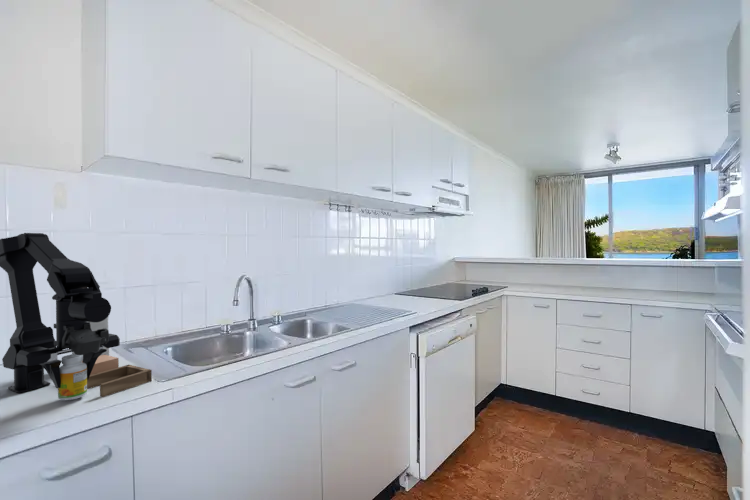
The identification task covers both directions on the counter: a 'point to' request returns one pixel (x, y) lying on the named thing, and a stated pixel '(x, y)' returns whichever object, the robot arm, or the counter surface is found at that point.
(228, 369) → the counter surface
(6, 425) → the counter surface
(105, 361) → the terracotta pedestal
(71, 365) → the supplement bottle
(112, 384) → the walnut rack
